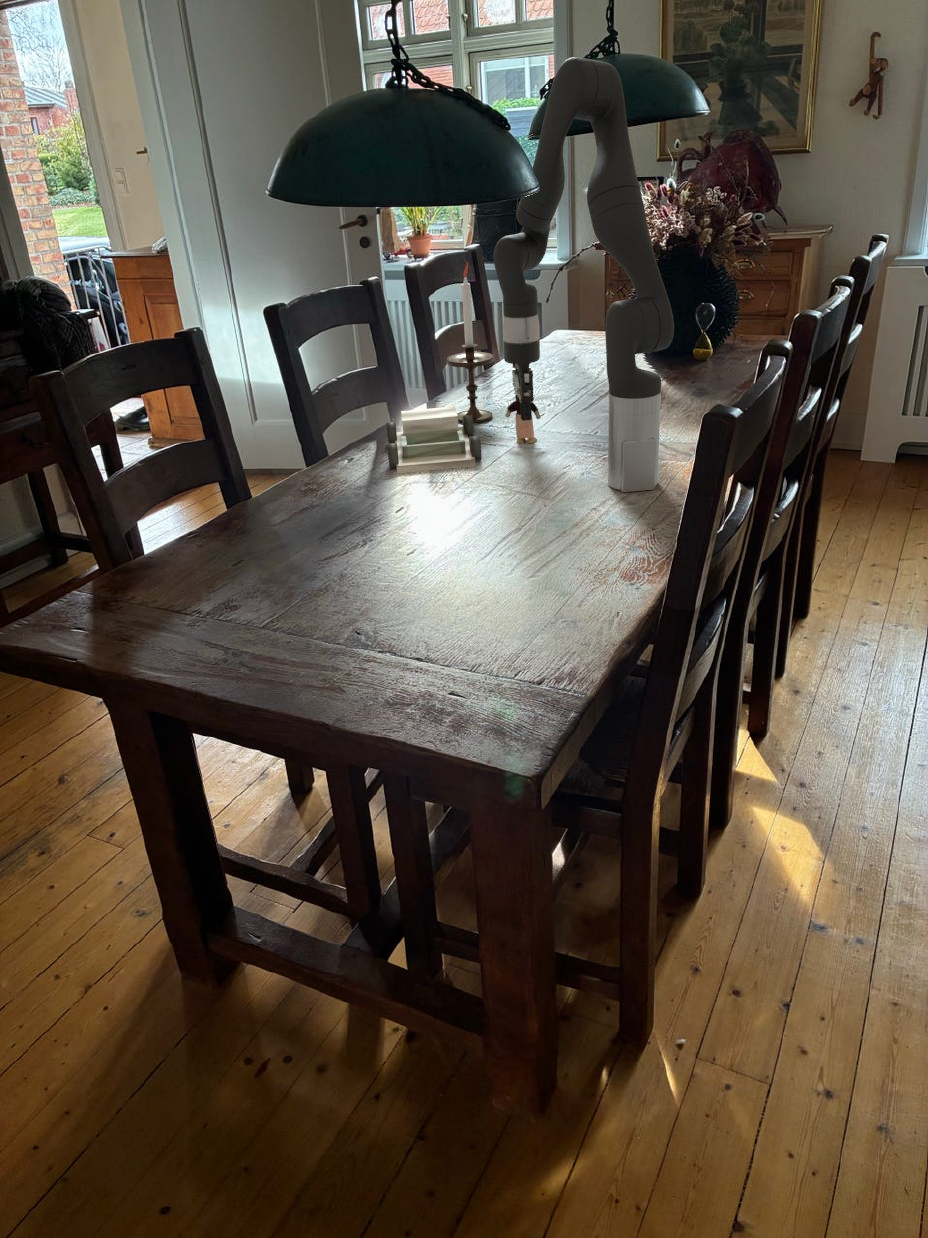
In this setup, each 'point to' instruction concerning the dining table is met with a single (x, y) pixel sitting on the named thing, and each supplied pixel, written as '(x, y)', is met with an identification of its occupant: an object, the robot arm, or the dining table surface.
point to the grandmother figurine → (523, 427)
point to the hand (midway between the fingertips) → (523, 414)
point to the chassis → (432, 441)
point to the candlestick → (470, 359)
